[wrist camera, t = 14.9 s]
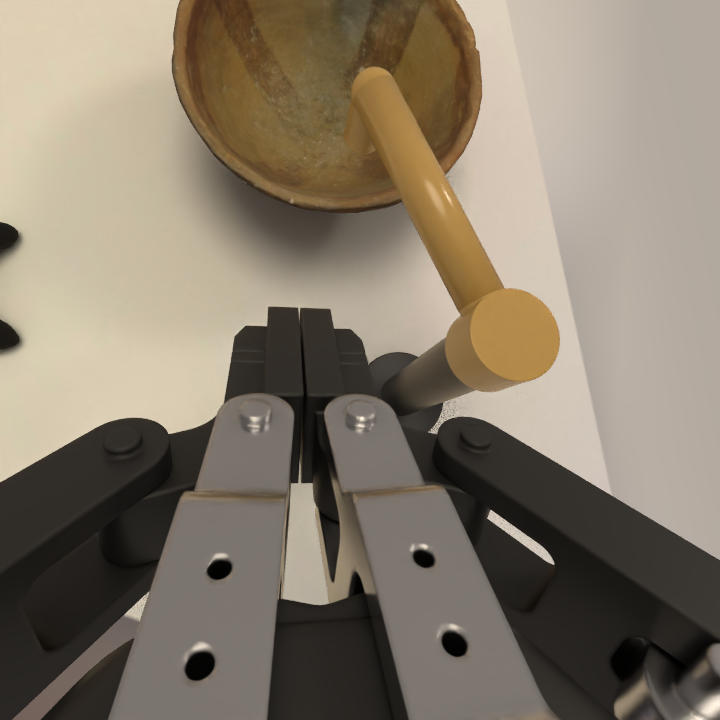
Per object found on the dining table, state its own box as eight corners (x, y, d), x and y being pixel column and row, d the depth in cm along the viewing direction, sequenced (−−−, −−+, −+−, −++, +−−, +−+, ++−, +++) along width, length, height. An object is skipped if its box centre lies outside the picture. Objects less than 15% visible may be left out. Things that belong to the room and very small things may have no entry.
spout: (523, 376, 24) (576, 358, 20) (457, 409, 23) (498, 397, 19) (385, 111, 26) (407, 43, 22) (319, 131, 25) (328, 64, 21)
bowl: (485, 136, 46) (542, 48, 36) (348, 317, 39) (372, 269, 30) (300, -3, 45) (307, -129, 36) (131, 157, 39) (85, 57, 30)
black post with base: (428, 349, 40) (529, 275, 24) (447, 432, 39) (565, 411, 23) (347, 362, 39) (398, 292, 23) (363, 449, 37) (429, 438, 22)
